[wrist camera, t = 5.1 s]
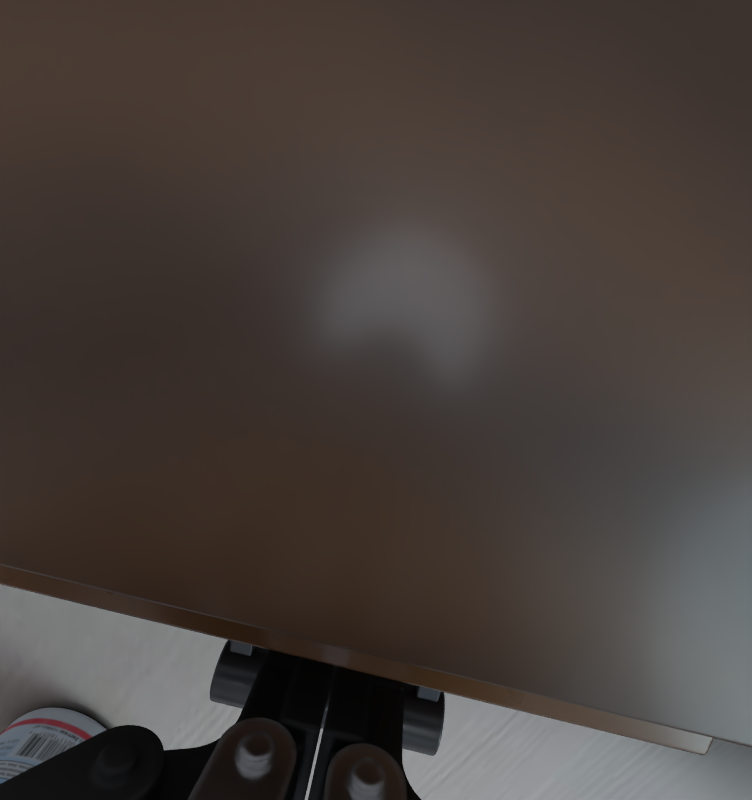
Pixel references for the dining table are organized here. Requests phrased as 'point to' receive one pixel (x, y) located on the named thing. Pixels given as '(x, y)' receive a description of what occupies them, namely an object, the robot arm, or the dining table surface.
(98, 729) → the pill bottle
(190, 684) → the dining table surface
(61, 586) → the drawer
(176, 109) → the cabinet
